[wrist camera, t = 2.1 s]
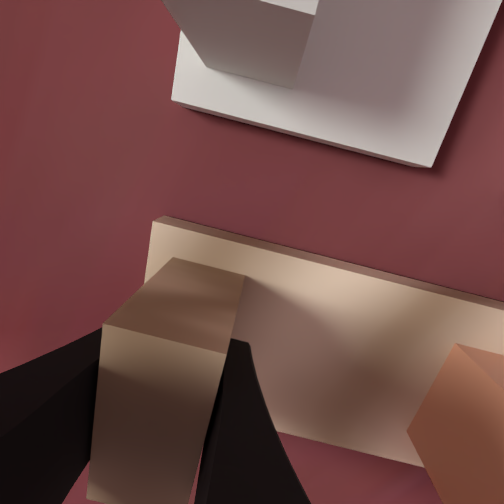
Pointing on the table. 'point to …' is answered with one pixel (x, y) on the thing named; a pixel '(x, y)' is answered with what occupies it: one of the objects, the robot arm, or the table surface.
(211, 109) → the white block
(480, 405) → the terracotta cube
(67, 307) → the table surface
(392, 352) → the birch strip
